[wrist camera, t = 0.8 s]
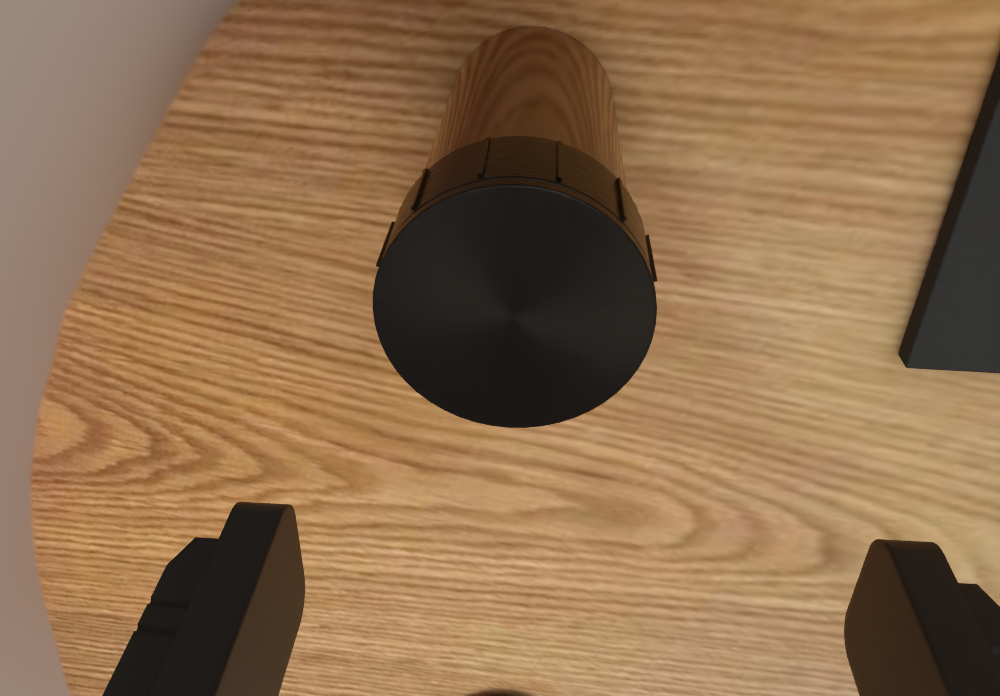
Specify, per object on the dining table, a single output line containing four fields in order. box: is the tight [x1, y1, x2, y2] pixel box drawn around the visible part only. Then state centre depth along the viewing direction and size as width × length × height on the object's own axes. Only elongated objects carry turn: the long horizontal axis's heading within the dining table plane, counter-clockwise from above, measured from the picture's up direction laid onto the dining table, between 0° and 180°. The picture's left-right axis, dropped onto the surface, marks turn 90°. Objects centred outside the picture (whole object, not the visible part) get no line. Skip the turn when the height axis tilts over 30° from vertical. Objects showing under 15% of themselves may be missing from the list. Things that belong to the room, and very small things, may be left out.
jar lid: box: [373, 136, 657, 428], centre depth 21 cm, size 6×6×3 cm
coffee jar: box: [426, 27, 627, 190], centre depth 26 cm, size 6×6×14 cm
